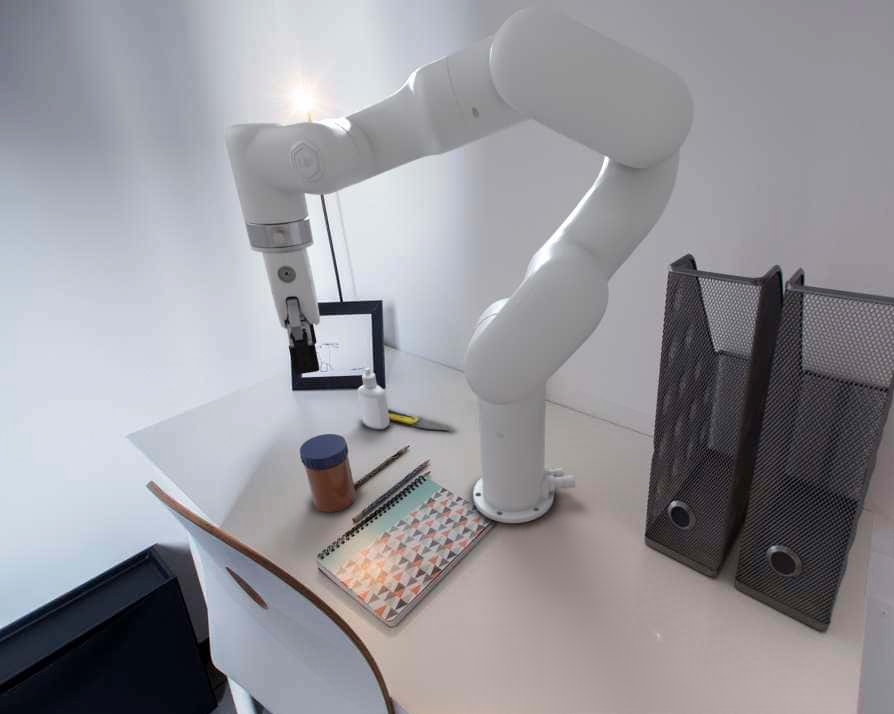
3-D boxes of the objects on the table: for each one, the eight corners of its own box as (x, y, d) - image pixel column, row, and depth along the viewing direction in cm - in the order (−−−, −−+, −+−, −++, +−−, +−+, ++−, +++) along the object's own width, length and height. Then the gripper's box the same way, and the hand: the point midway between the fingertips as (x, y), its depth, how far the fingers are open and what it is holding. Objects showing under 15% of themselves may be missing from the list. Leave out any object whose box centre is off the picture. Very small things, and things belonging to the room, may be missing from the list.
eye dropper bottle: (370, 433, 100) (360, 377, 94) (361, 420, 104) (351, 366, 99) (392, 427, 102) (383, 371, 96) (382, 414, 106) (374, 360, 100)
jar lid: (345, 439, 84) (343, 429, 83) (351, 463, 78) (349, 452, 77) (300, 450, 81) (297, 439, 81) (303, 474, 76) (301, 463, 75)
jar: (352, 482, 87) (342, 433, 83) (358, 505, 82) (348, 454, 78) (312, 492, 85) (299, 442, 81) (316, 516, 80) (303, 465, 76)
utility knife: (454, 422, 101) (447, 430, 99) (455, 427, 102) (447, 435, 99) (383, 407, 107) (374, 414, 105) (384, 413, 108) (375, 420, 105)
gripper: (314, 246, 60) (338, 379, 69) (309, 219, 75) (330, 332, 83) (243, 252, 58) (277, 389, 67) (252, 223, 73) (279, 339, 81)
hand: (306, 357), depth 75 cm, fingers open, 9 cm apart
